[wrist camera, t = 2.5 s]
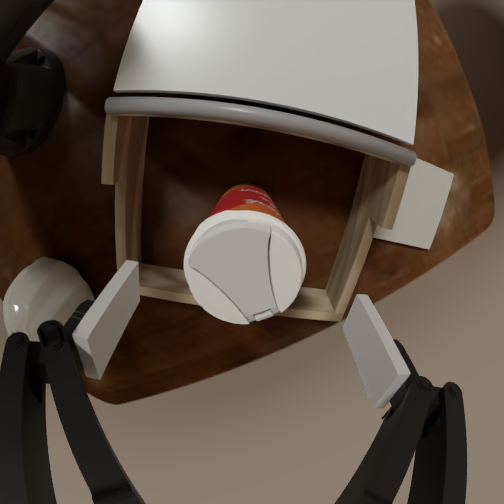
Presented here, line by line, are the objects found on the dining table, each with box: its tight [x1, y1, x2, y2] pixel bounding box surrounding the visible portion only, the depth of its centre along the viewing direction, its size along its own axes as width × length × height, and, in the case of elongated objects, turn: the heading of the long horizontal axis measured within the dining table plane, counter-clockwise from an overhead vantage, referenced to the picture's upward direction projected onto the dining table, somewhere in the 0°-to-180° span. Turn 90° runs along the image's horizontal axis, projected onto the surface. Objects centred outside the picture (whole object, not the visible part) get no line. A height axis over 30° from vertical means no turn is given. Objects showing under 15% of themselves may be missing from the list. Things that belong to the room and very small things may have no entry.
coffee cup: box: [184, 183, 306, 324], centre depth 24 cm, size 8×8×15 cm
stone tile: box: [373, 158, 454, 249], centre depth 30 cm, size 11×11×1 cm
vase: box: [3, 257, 95, 342], centre depth 30 cm, size 14×14×13 cm
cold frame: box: [101, 113, 411, 322], centre depth 27 cm, size 26×20×8 cm
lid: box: [105, 0, 418, 166], centre depth 16 cm, size 26×22×5 cm
